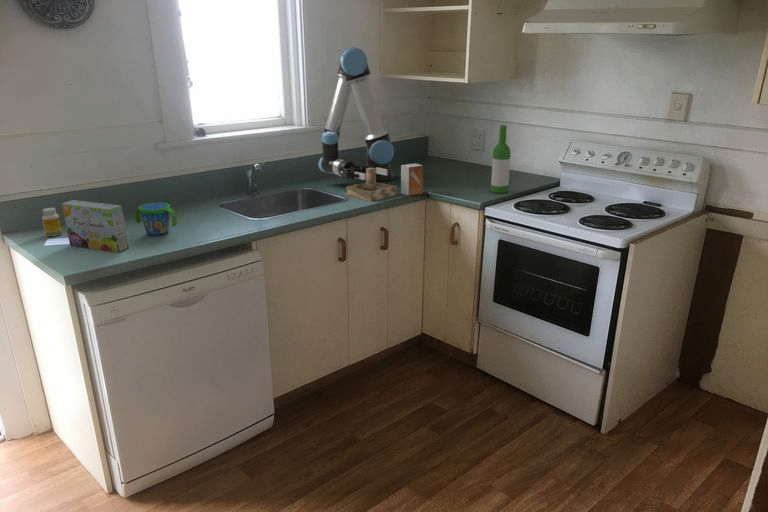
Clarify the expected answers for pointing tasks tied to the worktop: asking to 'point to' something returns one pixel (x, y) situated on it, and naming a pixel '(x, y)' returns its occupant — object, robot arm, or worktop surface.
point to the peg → (370, 179)
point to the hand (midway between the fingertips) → (376, 174)
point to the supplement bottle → (51, 222)
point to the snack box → (95, 225)
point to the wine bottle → (501, 164)
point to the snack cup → (155, 217)
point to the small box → (411, 179)
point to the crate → (379, 193)
